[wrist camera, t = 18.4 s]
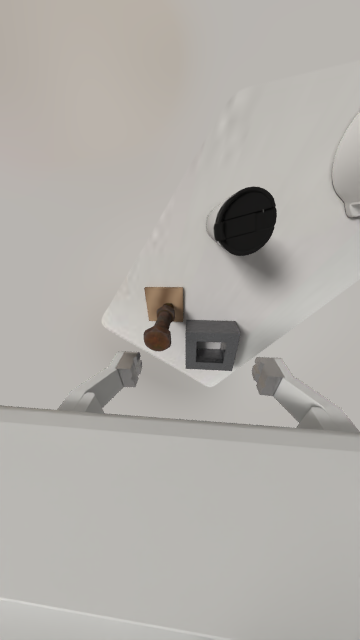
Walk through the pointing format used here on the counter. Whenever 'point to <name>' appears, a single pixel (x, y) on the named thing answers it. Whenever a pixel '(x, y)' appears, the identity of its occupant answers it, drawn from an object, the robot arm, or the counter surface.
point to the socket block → (211, 333)
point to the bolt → (160, 329)
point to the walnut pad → (164, 301)
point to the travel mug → (243, 221)
